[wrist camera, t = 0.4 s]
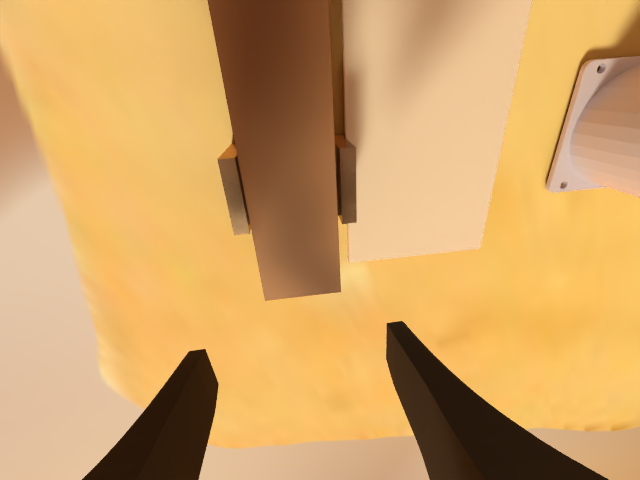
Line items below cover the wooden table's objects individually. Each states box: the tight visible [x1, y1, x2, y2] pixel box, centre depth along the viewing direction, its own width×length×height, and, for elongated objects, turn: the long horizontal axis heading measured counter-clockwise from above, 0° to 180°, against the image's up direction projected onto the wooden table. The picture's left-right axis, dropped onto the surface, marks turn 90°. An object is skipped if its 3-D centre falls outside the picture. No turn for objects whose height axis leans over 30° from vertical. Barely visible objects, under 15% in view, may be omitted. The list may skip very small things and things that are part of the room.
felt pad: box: [342, 0, 532, 263], centre depth 16 cm, size 10×30×1 cm, turn 4°
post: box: [218, 134, 357, 235], centre depth 17 cm, size 7×4×4 cm, turn 94°
